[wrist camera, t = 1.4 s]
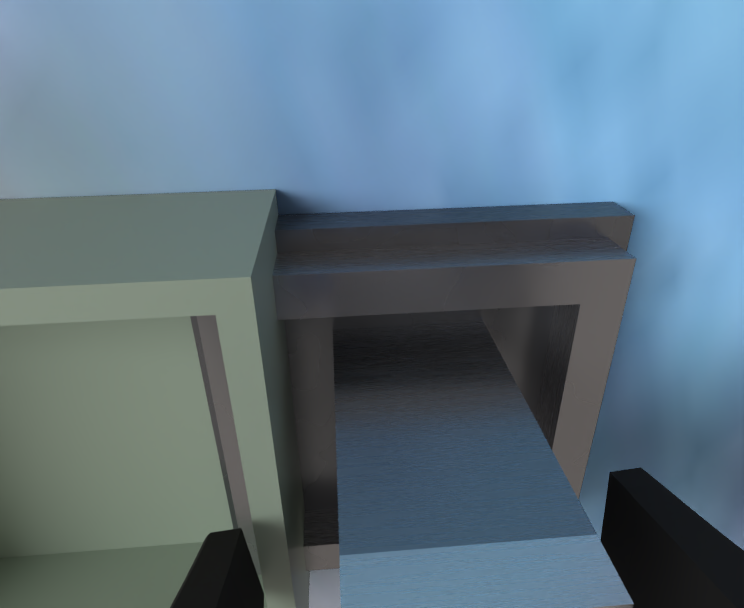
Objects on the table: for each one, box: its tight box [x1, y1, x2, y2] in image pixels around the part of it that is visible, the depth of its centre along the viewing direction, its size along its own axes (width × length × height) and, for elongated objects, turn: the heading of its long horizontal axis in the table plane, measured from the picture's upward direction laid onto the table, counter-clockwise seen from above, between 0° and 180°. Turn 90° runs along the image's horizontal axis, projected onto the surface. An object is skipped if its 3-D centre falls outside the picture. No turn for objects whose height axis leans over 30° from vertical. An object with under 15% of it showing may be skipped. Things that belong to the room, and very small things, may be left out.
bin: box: [0, 189, 310, 608], centre depth 12 cm, size 11×11×5 cm
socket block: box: [190, 202, 636, 575], centre depth 14 cm, size 10×10×2 cm
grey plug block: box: [333, 321, 634, 608], centre depth 11 cm, size 4×5×7 cm
